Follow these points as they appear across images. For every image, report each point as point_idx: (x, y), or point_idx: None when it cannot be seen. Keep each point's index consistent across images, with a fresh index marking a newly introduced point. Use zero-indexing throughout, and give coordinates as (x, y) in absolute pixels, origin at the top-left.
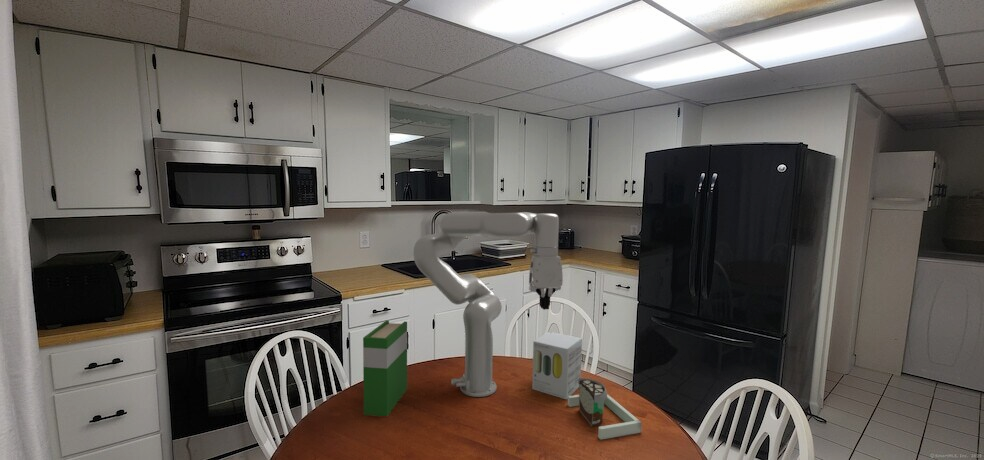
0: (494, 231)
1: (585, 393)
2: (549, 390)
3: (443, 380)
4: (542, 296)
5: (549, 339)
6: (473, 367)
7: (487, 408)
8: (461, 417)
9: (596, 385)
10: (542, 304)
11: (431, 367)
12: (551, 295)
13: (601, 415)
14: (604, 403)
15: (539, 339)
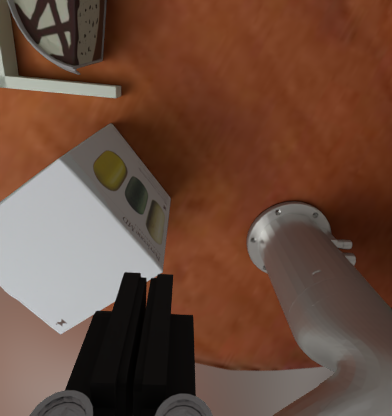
0: None
1: (83, 9)
2: (141, 163)
3: None
4: (191, 413)
5: (94, 266)
6: (341, 252)
7: (312, 151)
8: (384, 134)
9: (28, 7)
10: (182, 324)
11: None
12: (36, 413)
13: None
14: (16, 64)
15: None
